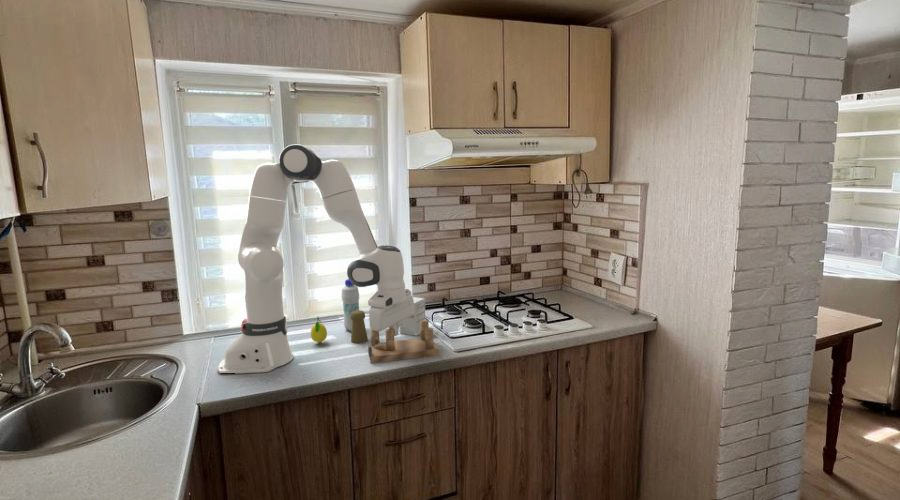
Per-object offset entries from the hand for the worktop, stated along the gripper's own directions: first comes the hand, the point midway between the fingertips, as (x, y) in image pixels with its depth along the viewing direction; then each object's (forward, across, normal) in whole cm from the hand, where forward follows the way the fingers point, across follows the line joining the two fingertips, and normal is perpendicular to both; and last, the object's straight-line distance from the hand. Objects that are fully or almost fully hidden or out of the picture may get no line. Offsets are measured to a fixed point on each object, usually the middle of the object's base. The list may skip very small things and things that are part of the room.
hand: (394, 335), depth 157 cm
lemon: (+6, +5, -31) cm, 31 cm away
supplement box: (+6, -20, -6) cm, 21 cm away
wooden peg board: (+6, -1, +2) cm, 6 cm away
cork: (+6, -4, -19) cm, 20 cm away
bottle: (+6, -12, -29) cm, 32 cm away
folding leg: (+4, +3, -2) cm, 5 cm away
